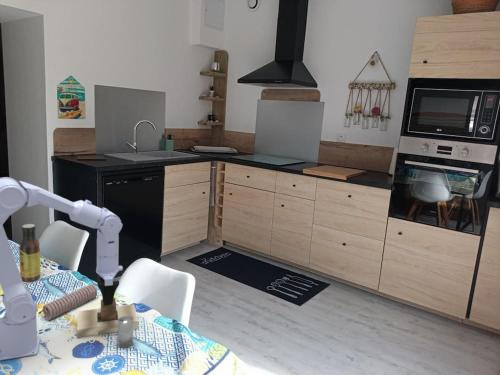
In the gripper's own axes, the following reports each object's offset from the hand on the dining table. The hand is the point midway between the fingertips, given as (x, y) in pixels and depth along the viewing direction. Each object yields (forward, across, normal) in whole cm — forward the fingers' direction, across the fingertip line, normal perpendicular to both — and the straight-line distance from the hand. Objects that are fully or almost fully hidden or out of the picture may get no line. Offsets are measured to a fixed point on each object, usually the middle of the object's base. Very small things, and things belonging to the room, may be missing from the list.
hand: (107, 297), depth 109 cm
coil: (+9, +13, +10) cm, 18 cm away
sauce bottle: (+9, +37, +24) cm, 45 cm away
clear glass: (+8, -11, -4) cm, 14 cm away
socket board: (+8, 0, 0) cm, 8 cm away
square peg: (+8, 0, 0) cm, 8 cm away
